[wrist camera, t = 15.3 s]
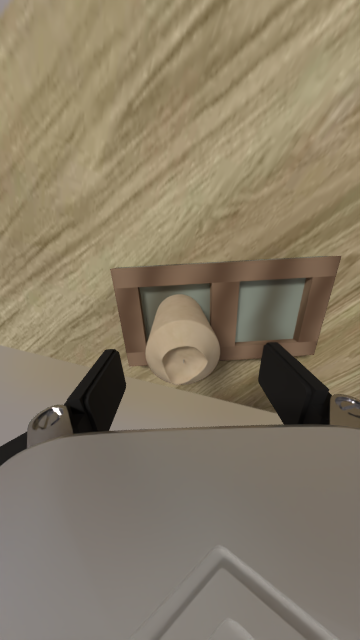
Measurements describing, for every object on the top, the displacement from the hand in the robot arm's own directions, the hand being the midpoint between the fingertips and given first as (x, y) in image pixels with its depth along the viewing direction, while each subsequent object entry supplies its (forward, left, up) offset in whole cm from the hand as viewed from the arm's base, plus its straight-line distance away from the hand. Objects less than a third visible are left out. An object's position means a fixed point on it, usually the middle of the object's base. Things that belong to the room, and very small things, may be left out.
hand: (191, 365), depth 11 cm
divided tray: (-5, 0, -11) cm, 12 cm away
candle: (0, 0, -10) cm, 10 cm away
